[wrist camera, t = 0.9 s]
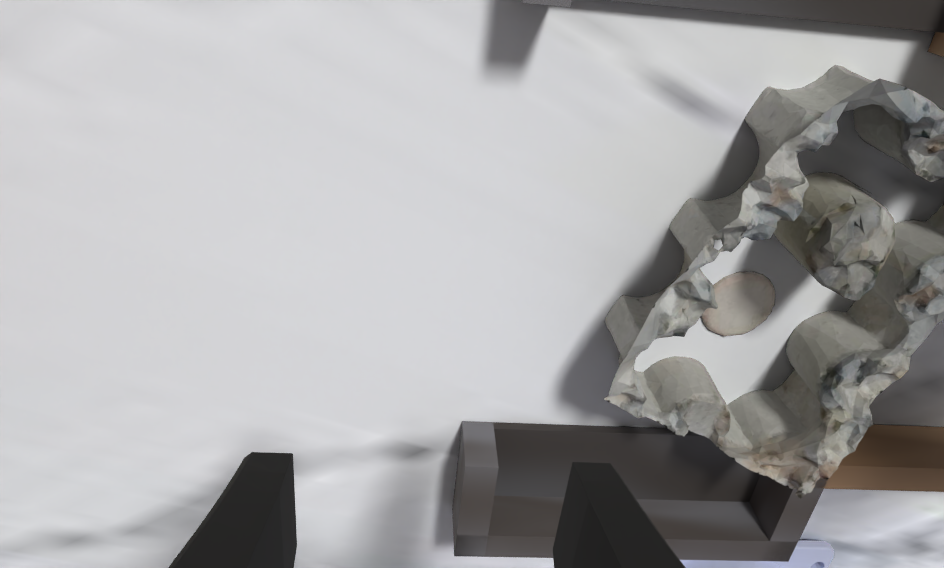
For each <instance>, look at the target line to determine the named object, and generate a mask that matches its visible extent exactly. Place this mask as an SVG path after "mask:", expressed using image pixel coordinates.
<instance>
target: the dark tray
mask: <svg viewBox="0 0 944 568" xmlns="http://www.w3.org/2000/svg"><path fill="white" fill-rule="evenodd" d="M521 1H522V2H523V3H529V4H540V5H551V6H561V7H571V1H572V0H521ZM608 1H618V2H629V3H639V4H649V5H660V6H670V7H681V8H691V9H701V10H712V11H722V12H733V13H743V14H753V15H764V16H774V17H785V18H795V19H805V20H816V21H826V22H837V23H847V24H857V25H868V26H878V27H889V28H899V29H909V30H920V31H930V32H935V34H934V37H933V39H932V42H931V44H930V47H929V49H928V51H927V52H930V53H933V54H936V55H939V56H942V57H944V0H608ZM572 462H590V463H611V464H612V466H613V467H614V468H615V469H616V471H617V472H618V473H619V475H620V476H621V478H622V479H623V481H624V482H625V484H626V485H627V487H628V488H629V490H630V491H631V493H632V494H633V496H634V497H635V498H636V500H637V501H638V503H639V504H640V506H641V507H642V509H643V510H644V511H645V513H646V514H647V516H648V517H649V519H650V520H651V521H652V523H653V524H654V526H655V527H656V528H657V530H658V531H659V533H660V534H661V535H662V537H663V538H664V540H665V541H666V542H667V544H668V545H669V546H670V548H671V549H672V550H673V552H674V553H675V554H676V556H677V557H678V558H679V560H720V561H780V562H789V559H790V557H791V555H792V553H793V551H794V549H795V547H796V545H797V543H798V541H799V539H800V537H801V535H802V533H803V530H804V528H805V526H806V524H807V522H808V520H809V518H810V516H811V514H812V512H813V510H814V508H815V506H816V504H817V502H818V499H819V497H820V495H821V493H822V491H823V489H824V488H825V489H861V490H898V491H935V492H944V427H925V426H898V425H872V426H870V427H869V428H868V429H867V431H866V433H865V435H864V436H863V438H862V439H861V441H860V442H859V443H858V445H857V448H856V450H855V451H854V452H852V453H850V454H848V455H847V456H845V457H844V458H843V459H842V461H841V462H840V464H839V467H838V469H837V470H836V471H835V472H834V473H833V474H832V476H831V477H830V478H829V479H822V478H820V479H819V480H817V481H816V484H815V487H814V488H813V490H812V492H811V493H807V494H806V495H805V496H804V497H803V498H801V499H800V498H799V497H798V496H797V495H796V494H795V493H796V492H797V489H791V488H788V487H786V486H784V485H782V484H780V483H778V482H776V481H775V480H773V479H771V478H769V477H768V476H764V475H761V474H758V473H756V472H754V471H751V470H749V469H747V468H746V467H744V466H742V465H741V464H739V463H737V462H736V461H735V460H733V459H732V458H731V457H729V456H728V455H727V454H726V453H724V452H723V451H722V450H721V449H719V448H718V447H717V446H716V445H715V444H714V443H713V442H712V441H711V440H710V439H709V438H707V437H705V436H702V435H699V434H696V433H694V432H691V431H689V430H688V433H687V434H686V435H685V436H684V437H683V436H679V435H677V434H675V433H673V432H672V431H671V430H670V429H664V428H636V427H607V426H579V425H551V424H522V423H494V422H466V421H462V430H461V439H460V447H459V456H458V464H457V473H456V482H455V490H454V499H453V508H452V510H453V535H454V556H478V557H538V558H553V546H554V541H555V537H556V532H557V528H558V524H559V519H560V515H561V510H562V506H563V502H564V497H565V493H566V488H567V484H568V480H569V475H570V471H571V466H572Z"/></svg>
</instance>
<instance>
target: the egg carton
mask: <svg viewBox="0 0 944 568" xmlns="http://www.w3.org/2000/svg"><path fill="white" fill-rule="evenodd" d="M850 110H854V116H853V117H854V124H855V130H856V131H857V133H858V134H859V136H860V137H861V138H862V140H864V141H865V142H867V143H869V144H870V145H872V146H874V147H875V148H877V149H879V150H880V151H882V152H883V153H885V154H887V155H889V156H890V157H892V158H894V159H896V160H897V161H899V162H900V163H902V164H903V165H905V166H906V167H907V168H909V169H910V170H911V171H912V172H914V173H915V174H916V175H918V176H920V177H922V178H924V179H926V180H927V181H929V182H934V181H937V180H939V179H942V178H944V111H943V110H941V109H940V108H938V107H937V106H936V104H935V103H933V102H932V101H930V100H929V99H927V98H925V97H923V96H922V95H920V94H918V93H917V92H915V91H913V90H911V89H908V88H906V87H904V86H902V85H899V84H896V83H893V82H889V81H886V80H882V79H878V80H876V81H874V82H873V81H871V80H868V79H866V78H864V77H862V76H860V75H858V74H856V73H853V72H851V71H849V70H847V69H846V68H844V67H842V66H838V65H835V66H833V67H832V68H831V69H830V70H829V71H828V72H827V73H825V74H824V75H823V76H822V77H820V78H819V79H817V80H816V81H814V82H812V83H810V84H808V85H806V86H805V87H802V88H798V89H791V90H784V89H776V88H773V87H767V88H766V89H765V90H764V91H763V92H762V94H761V95H760V96H759V98H758V99H757V100H756V102H755V103H754V105H753V106H752V108H751V109H750V111H749V112H748V114H747V116H746V117H745V121H746V123H747V124H748V126H749V127H750V128H751V129H752V130H753V132H754V134H755V136H756V138H757V141H758V144H759V159H758V162H757V166H756V168H755V170H754V172H753V173H752V175H751V176H750V178H749V179H748V180H747V181H746V183H745V184H743V185H742V187H740V188H739V189H738V190H737V191H736V192H734V193H732V194H731V195H729V196H726V197H723V198H720V199H715V200H699V199H693V198H690V199H688V200H687V201H686V202H685V204H684V205H683V206H682V208H681V209H680V211H679V212H678V214H677V215H676V216H675V218H674V219H673V221H672V222H671V224H670V227H669V228H670V230H671V231H672V233H673V234H674V236H675V237H676V239H677V240H678V241H679V243H680V244H681V245H682V247H683V250H684V262H683V265H682V268H681V272H680V273H679V275H678V276H677V278H676V280H675V281H674V282H673V283H671V284H670V285H669V286H668V287H666V288H665V289H663V290H662V291H660V292H658V293H656V294H653V295H650V296H645V297H630V296H626V295H622V296H621V297H620V298H619V299H618V300H617V301H616V302H615V304H614V305H613V307H612V308H611V309H610V311H609V312H608V314H607V316H606V318H605V323H606V326H607V328H608V329H609V331H610V333H611V334H612V337H613V339H614V342H615V344H616V346H617V348H618V350H619V353H620V356H619V368H618V370H617V372H616V374H615V376H614V379H613V382H612V385H611V388H610V391H609V394H608V396H607V397H606V398H605V399H604V400H606V401H608V402H610V403H612V404H614V405H617V406H618V407H620V408H622V409H623V410H625V411H627V412H628V413H630V414H632V415H633V416H635V417H637V418H639V419H640V418H643V417H647V418H649V419H652V420H654V421H657V422H658V423H660V424H662V425H664V426H666V427H667V428H668V429H670V430H671V431H672V432H673V433H675V434H677V435H679V436H683V437H684V436H685V435H686V434H687V433H688V430H689V431H691V432H694V433H696V434H699V435H702V436H705V437H707V438H709V439H710V440H711V441H712V442H713V443H714V444H715V445H716V446H717V447H718V448H719V449H721V450H722V451H723V452H724V453H726V454H727V455H728V456H729V457H731V458H732V459H733V460H735V461H736V462H737V463H739V464H741V465H742V466H744V467H746V468H747V469H749V470H751V471H754V472H756V473H758V474H761V475H764V476H768V477H769V478H771V479H773V480H775V481H776V482H778V483H780V484H782V485H784V486H786V487H788V488H791V489H797V492H796V493H795V494H796V495H797V496H798V497H799V498H800V499H801V498H803V497H804V496H805V495H806V494H807V493H811V492H812V490H813V488H814V487H815V484H816V481H817V480H819V479H820V478H822V479H829V478H830V477H831V476H832V474H833V473H834V472H835V471H836V470H837V469H838V467H839V464H840V462H841V461H842V459H843V458H844V457H845V456H847V455H848V454H850V453H852V452H854V451H855V450H856V448H857V445H858V443H859V442H860V441H861V439H862V438H863V436H864V435H865V433H866V431H867V429H868V428H869V427H870V426H872V425H873V422H872V414H871V411H870V408H869V406H870V404H871V403H872V402H873V400H874V399H875V397H876V396H877V395H879V394H880V393H881V392H883V391H884V390H885V389H886V388H887V387H888V386H890V385H891V384H892V383H894V382H895V381H897V380H899V379H901V378H902V377H903V376H904V375H905V373H906V372H907V371H908V370H909V365H910V358H911V356H912V354H913V353H914V352H915V351H916V350H917V349H918V348H919V347H920V345H921V344H922V343H923V342H924V341H925V340H926V339H927V337H928V336H929V334H930V333H931V332H932V330H933V329H934V328H935V326H936V325H937V324H938V323H940V322H941V321H942V320H944V204H943V205H942V206H941V207H940V208H939V210H938V211H937V212H936V213H935V214H934V215H933V216H932V217H931V218H930V219H929V220H928V221H927V222H923V221H917V220H908V221H902V222H898V223H895V224H894V219H893V217H892V216H891V214H890V213H889V212H888V210H887V209H886V208H885V207H884V206H883V205H881V204H880V203H878V202H877V201H876V200H874V199H873V198H871V197H870V196H869V195H867V194H866V193H865V192H863V191H862V190H860V189H859V188H857V187H856V186H858V185H856V184H854V183H852V182H851V181H849V180H847V179H845V178H844V177H842V176H840V175H837V174H834V173H827V172H819V173H813V174H809V175H806V176H804V174H803V173H802V171H801V170H800V168H799V164H798V157H797V156H798V153H800V152H802V151H804V150H810V151H814V152H816V151H817V150H818V149H819V148H820V147H821V146H829V145H830V144H831V143H832V142H833V140H834V139H835V137H836V136H837V134H838V127H837V121H838V119H839V117H840V115H841V114H842V112H846V111H850ZM853 184H854V185H853ZM855 185H856V186H855ZM858 187H859V186H858ZM860 188H861V187H860ZM862 189H863V188H862ZM864 190H865V189H864ZM865 191H866V190H865ZM867 192H868V191H867ZM869 193H870V192H869ZM871 194H872V193H871ZM773 233H774V235H775V236H776V238H777V239H778V240H779V241H780V243H781V244H782V245H783V246H784V247H785V248H786V249H787V250H788V251H789V252H790V253H791V254H792V255H793V256H794V257H795V258H796V259H797V260H798V261H799V262H800V263H801V264H802V265H803V266H804V267H805V268H806V269H807V270H808V271H809V273H810V274H811V275H812V276H813V277H814V278H815V279H816V280H817V281H818V282H819V283H820V284H821V285H823V286H825V287H827V288H829V289H831V290H833V291H834V292H836V293H838V294H839V295H841V296H842V297H844V298H847V299H851V300H855V302H854V303H853V305H852V306H851V307H850V309H849V310H848V311H847V312H841V311H826V312H823V313H819V314H817V315H814V316H812V317H810V318H808V319H806V320H804V321H803V322H802V323H800V324H799V325H798V326H797V327H796V328H795V329H794V331H793V332H792V334H791V335H790V338H789V340H788V342H787V346H786V354H787V356H788V359H789V362H790V364H791V365H792V366H793V368H794V371H793V372H792V373H791V374H790V376H789V377H788V378H787V380H786V381H785V382H784V383H783V384H782V385H780V386H779V387H778V388H776V389H775V390H772V391H770V390H758V391H753V392H749V393H747V394H744V395H742V396H740V397H739V398H737V399H736V400H734V401H732V402H731V403H730V404H728V405H726V403H725V401H724V399H723V398H722V396H721V395H720V393H719V391H718V390H717V388H716V386H715V384H714V382H713V380H712V378H711V377H710V375H709V373H708V372H707V370H706V368H705V366H704V365H703V364H701V363H700V362H699V361H697V360H695V359H692V358H687V357H676V356H674V357H669V358H665V359H663V360H660V361H658V362H656V363H655V364H653V365H651V366H650V367H649V368H648V369H646V370H645V371H644V372H638V371H635V370H634V363H635V359H636V357H637V356H638V355H639V354H640V352H642V351H644V350H646V349H648V347H649V346H650V344H651V343H652V341H653V340H654V339H657V338H664V337H671V336H682V337H684V336H685V334H686V332H687V330H688V329H689V328H690V327H692V326H693V325H694V324H695V323H696V322H697V321H698V319H699V318H700V317H702V320H703V323H704V325H705V326H706V327H707V328H708V329H709V330H710V331H712V332H714V333H716V334H719V335H722V336H729V335H731V336H733V335H741V334H744V333H747V332H749V331H751V330H753V329H755V328H756V327H757V326H758V325H760V324H761V323H762V322H763V321H765V320H766V319H767V317H768V315H769V314H770V313H771V312H772V308H773V306H774V303H775V291H774V287H773V285H772V283H771V281H770V280H769V279H768V278H766V277H765V276H764V275H763V274H759V273H755V272H738V273H734V274H732V275H729V276H727V277H724V278H723V279H721V280H720V281H718V282H717V283H715V284H714V285H712V284H711V283H710V281H709V280H708V279H707V278H706V277H705V276H704V274H703V273H702V271H701V270H700V267H702V266H704V265H705V264H707V263H710V262H712V261H714V260H715V259H716V257H717V256H718V254H719V253H720V252H722V251H729V252H731V251H732V250H733V249H734V248H735V247H736V246H737V245H738V244H739V243H740V241H741V239H742V238H744V237H747V238H749V239H751V240H762V239H770V238H771V236H772V235H773ZM719 239H721V241H722V244H723V247H722V248H721V249H720V250H719V251H718V250H716V249H714V248H713V247H714V241H715V240H719Z"/></svg>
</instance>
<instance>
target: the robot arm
mask: <svg viewBox="0 0 944 568" xmlns="http://www.w3.org/2000/svg"><path fill="white" fill-rule="evenodd" d="M296 547H297V538H296V515H295V493H294V470H293V454H292V453H258V452H252V453H250V454H249V455H248V456H246V457H245V458H244V460H243V461H242V463H241V465H240V466H239V468H238V470H237V471H236V473H235V474H234V476H233V478H232V479H231V481H230V482H229V484H228V485H227V487H226V489H225V490H224V492H223V493H222V495H221V496H220V498H219V499H218V500H217V502H216V503H215V505H214V506H213V508H212V509H211V511H210V512H209V513H208V515H207V516H206V518H205V519H204V521H203V522H202V523H201V525H200V526H199V528H198V529H197V530H196V532H195V533H194V534H193V536H192V537H191V538H190V540H189V541H188V542H187V544H186V545H185V546H184V548H183V549H182V550H181V552H180V553H179V554H178V556H177V557H176V558H175V560H174V561H173V562H172V564H171V565H170V566H169V568H294V561H295V554H296ZM834 555H835V552H834V550H833V548H832V547H831V545H830V544H829V543H828V542H826V541H811V540H799V541H798V543H797V545H796V547H795V549H794V551H793V553H792V555H791V557H790V559H789V562H780V561H720V560H679V558H678V557H677V556H676V554H675V553H674V552H673V550H672V549H671V548H670V546H669V545H668V544H667V542H666V541H665V540H664V538H663V537H662V535H661V534H660V533H659V531H658V530H657V528H656V527H655V526H654V524H653V523H652V521H651V520H650V519H649V517H648V516H647V514H646V513H645V511H644V510H643V509H642V507H641V506H640V504H639V503H638V501H637V500H636V498H635V497H634V496H633V494H632V493H631V491H630V490H629V488H628V487H627V485H626V484H625V482H624V481H623V479H622V478H621V476H620V475H619V473H618V472H617V471H616V469H615V468H614V467H613V466H612V464H611V463H590V462H572V466H571V471H570V475H569V480H568V484H567V488H566V493H565V497H564V502H563V506H562V510H561V515H560V519H559V524H558V528H557V532H556V537H555V541H554V546H553V559H554V568H828V567H829V565H830V563H831V562H832V560H833V558H834Z"/></svg>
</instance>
